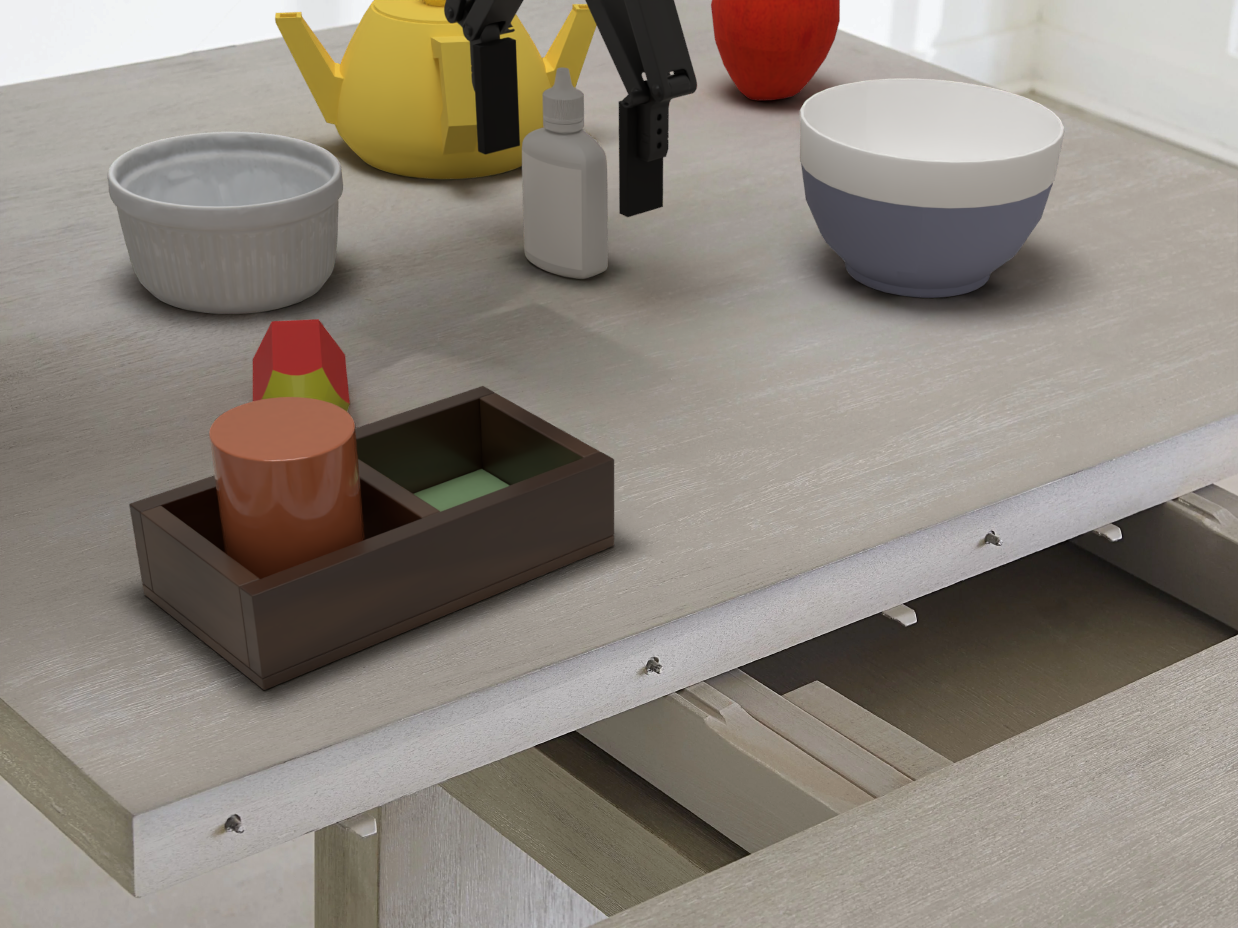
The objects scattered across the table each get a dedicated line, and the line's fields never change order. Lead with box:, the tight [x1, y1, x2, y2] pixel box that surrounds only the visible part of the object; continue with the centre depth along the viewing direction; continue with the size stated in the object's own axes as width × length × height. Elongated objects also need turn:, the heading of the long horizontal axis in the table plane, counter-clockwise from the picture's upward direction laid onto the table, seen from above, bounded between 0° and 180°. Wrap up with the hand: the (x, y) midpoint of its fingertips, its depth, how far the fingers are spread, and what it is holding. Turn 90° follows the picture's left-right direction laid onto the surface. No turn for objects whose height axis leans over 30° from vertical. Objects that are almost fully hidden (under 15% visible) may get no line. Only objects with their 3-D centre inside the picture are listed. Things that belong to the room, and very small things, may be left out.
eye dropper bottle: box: [521, 68, 609, 280], centre depth 115 cm, size 4×6×12 cm
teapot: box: [274, 0, 597, 180], centre depth 132 cm, size 17×17×12 cm
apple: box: [710, 0, 841, 102], centre depth 144 cm, size 10×10×12 cm
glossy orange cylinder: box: [208, 397, 365, 579], centre depth 82 cm, size 6×6×8 cm
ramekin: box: [107, 131, 344, 315], centre depth 112 cm, size 13×13×7 cm
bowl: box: [799, 77, 1065, 299], centre depth 117 cm, size 16×16×10 cm
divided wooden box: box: [128, 385, 615, 691], centre depth 86 cm, size 10×19×5 cm, turn 133°
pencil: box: [252, 318, 351, 413], centre depth 96 cm, size 5×12×4 cm, turn 12°
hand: (567, 178), depth 115 cm, fingers open, 13 cm apart
